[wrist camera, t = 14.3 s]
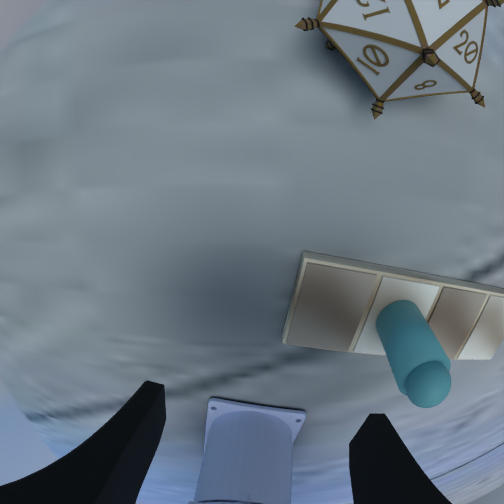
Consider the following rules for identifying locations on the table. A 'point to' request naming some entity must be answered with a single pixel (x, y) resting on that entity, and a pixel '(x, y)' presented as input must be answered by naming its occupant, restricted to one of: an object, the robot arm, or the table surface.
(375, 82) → the game die
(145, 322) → the table surface
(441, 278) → the board
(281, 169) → the table surface
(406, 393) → the pawn
